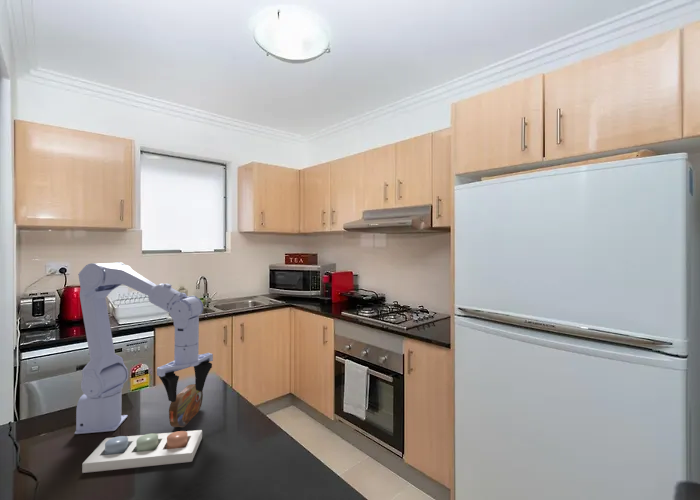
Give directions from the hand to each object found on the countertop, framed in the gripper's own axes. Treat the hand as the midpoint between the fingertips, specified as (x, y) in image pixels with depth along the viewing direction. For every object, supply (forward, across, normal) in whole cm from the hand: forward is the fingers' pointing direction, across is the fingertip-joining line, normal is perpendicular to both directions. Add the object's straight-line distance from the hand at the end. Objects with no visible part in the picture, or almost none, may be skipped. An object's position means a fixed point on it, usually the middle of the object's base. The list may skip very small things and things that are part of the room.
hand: (186, 395), depth 90 cm
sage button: (+8, -10, -1) cm, 14 cm away
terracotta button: (+8, -6, -6) cm, 12 cm away
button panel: (+10, -10, -1) cm, 14 cm away
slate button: (+8, -15, +4) cm, 18 cm away
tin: (+10, +4, +6) cm, 13 cm away
